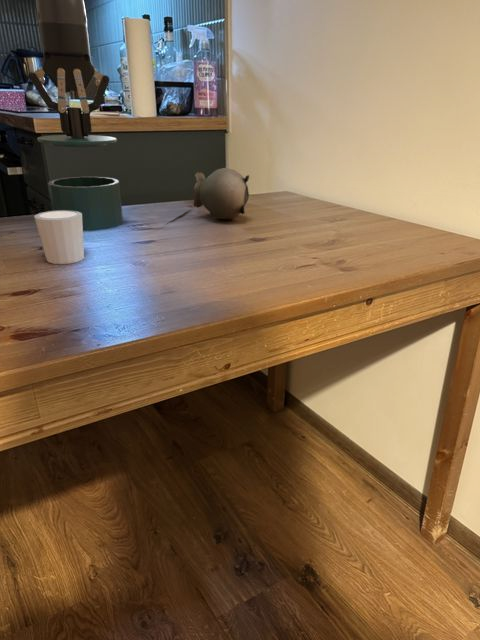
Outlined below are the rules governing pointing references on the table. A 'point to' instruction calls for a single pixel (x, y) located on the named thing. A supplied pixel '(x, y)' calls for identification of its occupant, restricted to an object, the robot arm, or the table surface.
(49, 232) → the shot glass
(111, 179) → the pot
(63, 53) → the robot arm
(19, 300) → the table surface
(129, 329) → the table surface
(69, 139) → the lid
